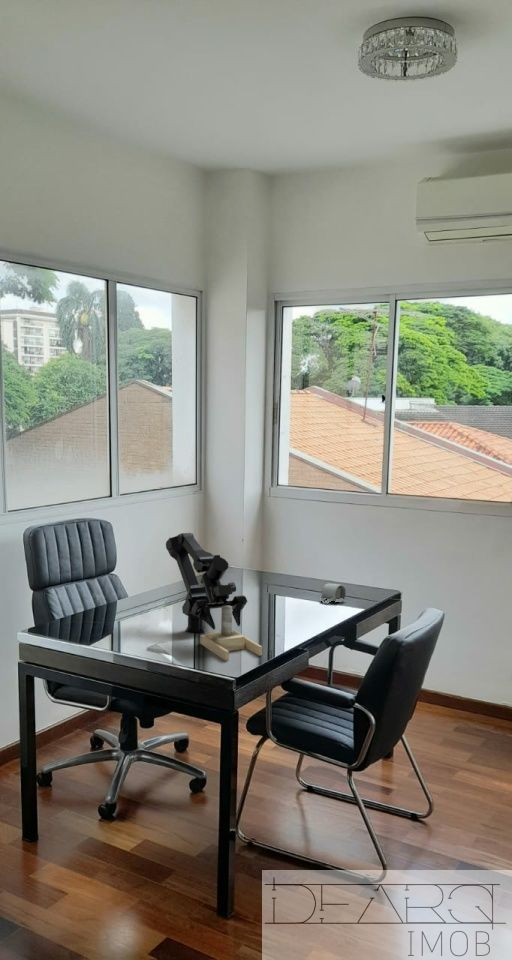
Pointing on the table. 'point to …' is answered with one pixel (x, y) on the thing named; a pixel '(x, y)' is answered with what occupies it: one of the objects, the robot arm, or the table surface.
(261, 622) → the table surface
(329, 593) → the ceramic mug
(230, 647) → the peg on wooden base
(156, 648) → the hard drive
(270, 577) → the table surface
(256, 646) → the frame
